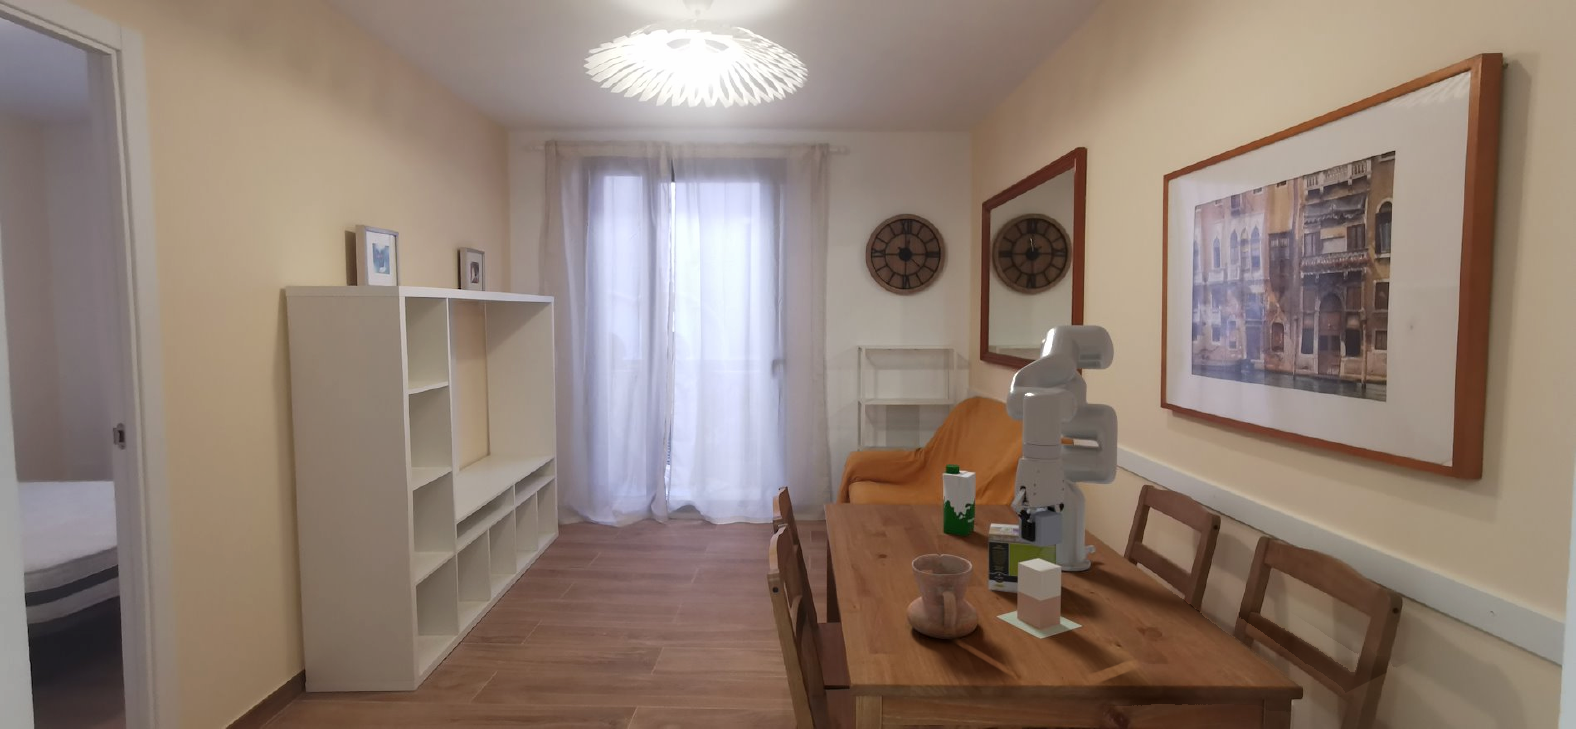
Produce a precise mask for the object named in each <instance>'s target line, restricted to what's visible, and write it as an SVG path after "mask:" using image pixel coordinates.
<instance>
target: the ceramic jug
mask: <svg viewBox="0 0 1576 729" xmlns="http://www.w3.org/2000/svg"><path fill="white" fill-rule="evenodd" d="M911 569H912V572H913V573H912V574H913V577H914V580H915V583H916V586H917V588H918V591H919V593H920V595H921V596H919V597H917V598H915V599H914V600H913V601H911V602H910V604H908V607H907V609H906V618H907V621H908V623H909V625H910V627H912V628H913V629H914V630H916V631H917V632H919V633H921V634H922V635H925V636H928V637H931V638H935V639H942V640H943V639H944V640H949V639H950V640H951V639H959V638H962V637H965V636H968V635H970V634H972V633H973V631H975V629H977V628H976V627H977V625H978V622H979V615H978V613H977V610H976V608H975V607H974V606H973V605H972V604H971V603H970V602H969V601H967V600H966V599H964V597H965V595H966V592H967V590H968V587H969V584H970V582H971V579H972V578H971V577H972V572H973V565H972V563H971V561H969V560H968V559H965V558H962V557H960V556H957V555H953V554H943V553H942V554H941V555H939V554H937V553H933V554H931V553H930V554H924V555H920V556H918V557H916V558H915V559H913V560H912V562H911ZM925 570H926V571H927V570H928V571H931V572H930V573H928V572H924V571H925Z"/></svg>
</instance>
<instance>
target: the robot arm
mask: <svg viewBox="0 0 1576 729" xmlns="http://www.w3.org/2000/svg"><path fill="white" fill-rule="evenodd" d="M1039 352H1040V353H1039V357H1038V359H1036V360H1035V361H1032V362H1031V363H1029V364H1027V365H1026V366H1024V367H1022V368H1021V369H1019V370H1018V371H1017V372H1016V373H1015V374H1014V376H1013V377H1012V379H1011V382H1010V385H1009V388H1008V391H1007V395H1006V398H1005V399H1006V401H1005V409H1006V410H1005V411H1006V413H1007V415H1008V416H1009V418H1011V419H1012V420H1014V421H1016V422H1017V421H1018V422H1022V442H1021V444H1022V445H1021V446H1022V447H1021V448H1022V451H1021V455H1022V456H1021V457H1020V458H1019V459H1018V464H1017V468H1016V472H1015V473H1016V474H1015V484H1014V499H1013V501H1012V503H1011V505H1010V507H1011V509H1012V510H1013V511H1014V512H1015V513H1016V515H1017V516H1018V520H1019V519H1020V520H1022V521H1021V538H1022V539H1025V540H1028V541H1030V542H1034V541H1035V522H1033V520H1034V516H1035V513H1036V510H1037V509H1038V508H1043V509H1047V510H1050V511H1053V512H1057V513H1060V514H1062V543H1059V544H1056V565H1058V566H1061V571H1063V572H1064V571H1066V572H1081V571H1086V570H1088V569H1090V568H1091V560H1090V559H1089V558H1087V556H1088V554H1092V553H1095V552H1096V547H1095V545H1093V544H1091V545H1085V544H1086V542H1085V541H1086V540H1085V539H1086V538H1085V537H1086V536H1085V534H1086V498H1085V495H1084V493H1083V491H1082V489H1080V487H1079V486H1078V485H1077V483H1085V484H1094V485H1095V484H1096V485H1110V484H1112V483H1113V482H1114V481H1115V479H1116V476H1117V470H1118V468H1117V467H1118V429H1119V428H1118V416H1117V412H1116V410H1115V409H1114V407H1112V406H1111V405H1109V404H1104V403H1089V402H1088V401H1087V382H1086V381H1085V379H1084V377H1083V376H1082V375H1081V373H1080V372H1079V371H1078V370H1107V369H1108V368H1110V366H1111V365H1112V363H1113V361H1114V355H1115V350H1114V344H1113V340H1112V338H1111V336H1110V333H1109V332H1108V330H1107V329H1106V328H1104V327H1102V326H1100V325H1095V324H1092V325H1090V324H1089V325H1088V324H1086V325H1081V324H1080V325H1075V324H1073V325H1072V324H1069V325H1065V324H1063V325H1056V326H1055V327H1052V328H1051V329H1049V330H1048V331H1047V333H1046V334H1045V336H1044V338H1043V339H1042V340H1041V341H1040V346H1039ZM1062 439H1067V440H1078V441H1093V442H1095V443H1096V444H1097V446H1096V445H1095V446H1094V445H1083V444H1071V443H1062ZM1027 509H1030V512H1029V514H1028V513H1027Z"/></svg>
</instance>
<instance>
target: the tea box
mask: <svg viewBox="0 0 1576 729" xmlns="http://www.w3.org/2000/svg"><path fill="white" fill-rule="evenodd" d="M1018 531H1019V524H1010V523H1009V524H1007V523H994V522H993V523H992V522H991V523H990V526H989V530H988V571H987V572H988V590H990V591H999V592H1007V593H1013V594H1014V593H1016V594H1018V563H1020V562H1024V561H1029V560H1033V559H1037V558H1039V559H1042V560H1045V561H1047V562H1050V563H1053V564H1055V565H1056V544H1054V545H1049V546H1044V547H1039V546H1036V545H1033V544H1030V543H1027V542H1025V541H1022V540H1019V539H1018Z"/></svg>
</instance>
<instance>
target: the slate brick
mask: <svg viewBox="0 0 1576 729" xmlns="http://www.w3.org/2000/svg"><path fill="white" fill-rule="evenodd" d="M1029 512H1030V509H1027V513H1028V514H1029ZM1021 521H1022V520H1020V519H1019V518H1018V525H1019V531H1018V539H1019V540H1022V541H1025V542H1027V543H1030V544H1033V545H1036V546H1039V547H1044V546H1049V545H1054V544H1059V543H1062V514H1060V513H1057V512H1053V511H1050V510H1047V509H1046V508H1038V509H1037V510H1036V513H1035V516H1034V520H1033V522H1035V541H1034V542H1030V541H1028V540H1025V539H1022V538H1021Z"/></svg>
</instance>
